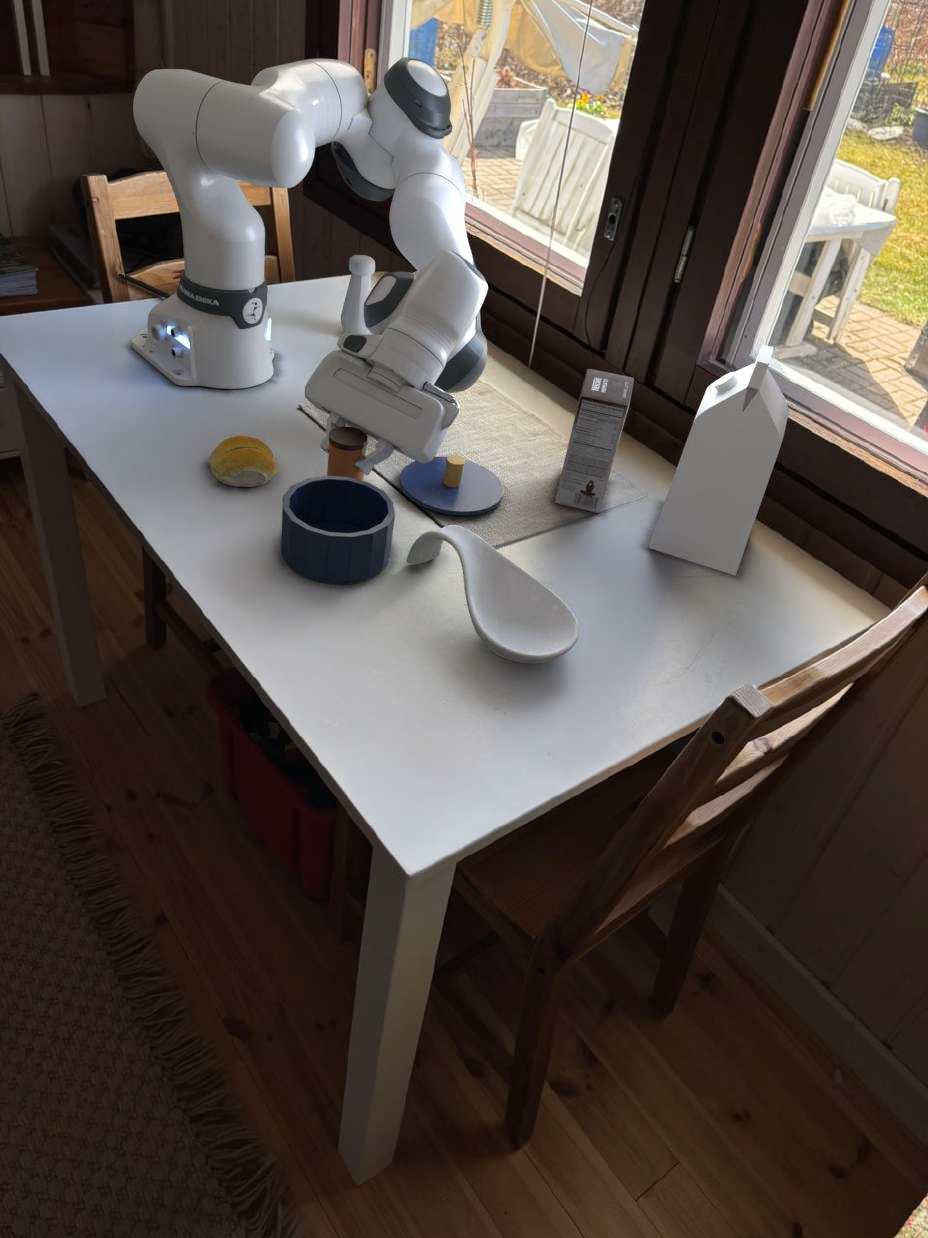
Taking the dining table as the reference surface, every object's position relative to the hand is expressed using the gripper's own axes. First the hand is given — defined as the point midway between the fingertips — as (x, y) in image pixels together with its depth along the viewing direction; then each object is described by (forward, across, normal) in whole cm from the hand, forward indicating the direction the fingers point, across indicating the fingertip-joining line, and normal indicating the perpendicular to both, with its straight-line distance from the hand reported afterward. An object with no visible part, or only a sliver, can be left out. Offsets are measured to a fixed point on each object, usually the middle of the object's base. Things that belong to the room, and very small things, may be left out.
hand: (342, 461), depth 120 cm
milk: (-17, -38, -24) cm, 48 cm away
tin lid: (-6, -9, -11) cm, 15 cm away
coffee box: (-15, -21, -21) cm, 33 cm away
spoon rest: (+8, -28, +1) cm, 29 cm away
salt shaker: (-24, +33, -30) cm, 51 cm away
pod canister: (+3, 0, -4) cm, 4 cm away
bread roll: (+8, +11, +1) cm, 13 cm away
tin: (+10, -9, +4) cm, 14 cm away
